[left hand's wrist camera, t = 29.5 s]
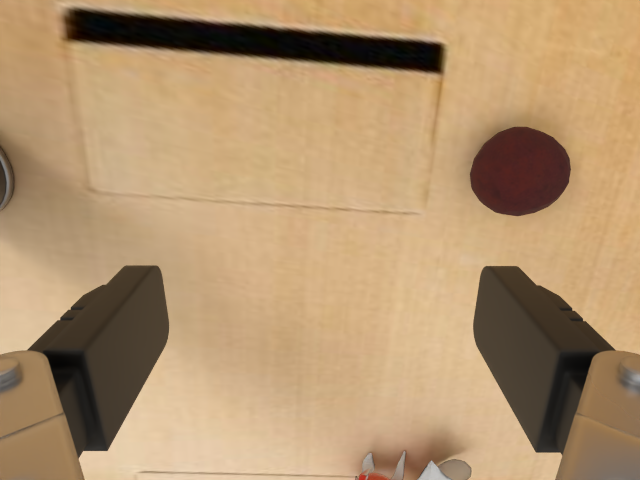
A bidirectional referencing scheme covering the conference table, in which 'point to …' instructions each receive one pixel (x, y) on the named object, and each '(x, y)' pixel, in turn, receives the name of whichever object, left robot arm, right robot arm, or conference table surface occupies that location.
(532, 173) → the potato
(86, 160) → the conference table surface
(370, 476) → the fish
